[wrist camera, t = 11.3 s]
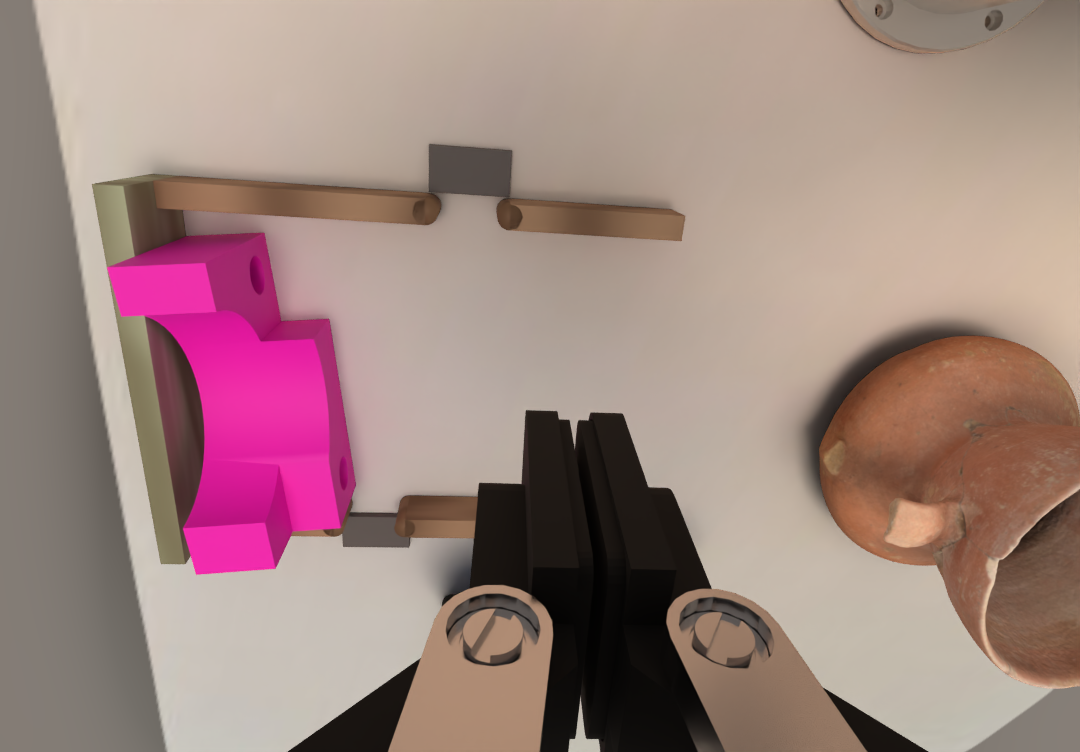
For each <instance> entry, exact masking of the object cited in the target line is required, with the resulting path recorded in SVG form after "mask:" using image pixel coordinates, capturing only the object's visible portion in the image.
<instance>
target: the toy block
mask: <svg viewBox="0 0 1080 752" xmlns="http://www.w3.org/2000/svg"><path fill="white" fill-rule="evenodd" d="M107 269H108V272H109V276H110V279H111V283H112V286H113V290H114V293H115V297H116V300H117V303H118V307H119V310H120V314H121V317H126V316H146V317H148V318H151V319H153V320H155V321H157V322H158V323H160V324H161V325H162V326H164V327H165V328H166V329H167V330H168V331H169V332H170V333H171V334H172V335H173V336H174V337H175V339H176V340H177V341H178V343H179V344H180V346H181V347H182V349H183V351H184V353H185V354H186V356H187V358H188V360H189V363H190V365H191V367H192V370H193V372H194V375H195V378H196V382H197V385H198V389H199V393H200V398H201V403H202V410H203V418H204V435H205V442H204V460H203V469H202V475H201V481H200V485H199V489H198V493H197V496H196V500H195V503H194V505H193V508H192V511H191V513H190V515H189V518H188V520H187V522H186V523H185V525H184V527H183V531H184V534H185V538H186V541H187V544H188V548H189V551H190V555H191V558H192V562H193V565H194V569H195V572H196V575H197V574H211V573H224V572H237V571H251V570H264V569H276V567H277V565H278V562H279V560H280V558H281V556H282V554H283V552H284V549H285V547H286V545H287V543H288V541H289V539H290V537H291V534H292V532H294V531H308V530H322V529H336V528H341V526H342V523H343V520H344V517H345V514H346V512H347V509H348V506H349V503H350V500H351V497H352V495H353V492H354V489H355V486H356V482H355V476H354V470H353V464H352V458H351V452H350V445H349V439H348V433H347V427H346V421H345V414H344V408H343V402H342V396H341V390H340V383H339V377H338V371H337V365H336V359H335V352H334V346H333V340H332V334H331V328H330V322H329V319H317V320H297V321H281V317H280V312H279V307H278V302H277V296H276V291H275V286H274V281H273V275H272V270H271V265H270V260H269V255H268V249H267V244H266V239H265V234H264V233H245V234H221V235H197V236H186V237H183V238H181V239H178V240H176V241H173V242H171V243H168V244H166V245H163V246H160V247H158V248H155V249H153V250H150V251H148V252H145V253H143V254H140V255H137V256H135V257H132V258H130V259H127V260H125V261H122V262H120V263H117V264H114V265H112V266H109V267H107Z"/></svg>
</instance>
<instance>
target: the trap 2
mask: <svg viewBox="0 0 1080 752" xmlns="http://www.w3.org/2000/svg"><path fill="white" fill-rule="evenodd" d="M511 157H512V151H511V150H497V149H484V148H471V147H458V146H444V145H431V144H430V145H429V192H439V193H454V194H469V195H483V196H498V197H509V194H510V175H511Z"/></svg>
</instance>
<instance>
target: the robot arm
mask: <svg viewBox="0 0 1080 752" xmlns="http://www.w3.org/2000/svg"><path fill="white" fill-rule="evenodd" d="M841 1H842V4H843V5H844V6H845V8H846V9H847V10H848V12H849V13H850V14H851V16H852V17H853V18H854V20H855V21H856V22H857V24H859V25H860V26H861V27H862V28H863V29H865V30H866V31H867V32H868V33H869V34H871V35H872V36H873V37H874V38H875V39H877V40H879V41H882V42H884V43H886V44H888V45H890V46H892V47H894V48H896V49H901V50H905V51H910V52H914V53H943V52H949V51H954V50H961V49H966V48H969V47H972V46H975V45H978V44H981V43H984V42H987V41H989V40H991V39H993V38H995V37H997V36H998V35H1000V34H1002V33H1004V32H1006V31H1008V30H1009V29H1011V28H1013V27H1014V26H1016V25H1017V24H1018V23H1019V22H1021V21H1022V20H1023V19H1024V18H1026V17H1027V16H1028V15H1030V14H1031V13H1032V12H1033V11H1035V10H1036V9H1037V8H1038V7H1039V6H1040V5H1041V4H1042V3H1043V2H1044V1H1045V0H841ZM875 7H876V8H877V15H876V14H875ZM580 695H581V703H582V712H583V721H584V730H585V735H586V738H587V739H599V744H600V752H928V751H926V750H925V749H923V748H921V747H920V746H918V745H916V744H915V743H913V742H911V741H910V740H908V739H907V738H905V737H903V736H902V735H900V734H898V733H897V732H895V731H893V730H892V729H890V728H889V727H887V726H885V725H884V724H882V723H880V722H879V721H877V720H875V719H874V718H872V717H870V716H869V715H867V714H866V713H864V712H862V711H861V710H859V709H857V708H856V707H854V706H852V705H851V704H849V703H848V702H846V701H844V700H843V699H841V698H839V697H838V696H836V695H834V694H833V693H831V692H829V691H828V690H826V689H825V688H823V687H822V686H821V684H820V683H819V682H818V680H817V679H816V677H815V676H814V674H813V673H812V671H811V670H810V669H809V667H808V666H807V664H806V663H805V661H804V660H803V658H802V657H801V656H800V654H799V653H798V651H797V650H796V648H795V647H794V645H793V644H792V643H791V641H790V640H789V638H788V637H787V635H786V634H785V632H784V631H783V629H782V628H781V627H780V625H779V624H778V623H777V622H776V621H775V619H774V618H773V617H772V616H771V615H770V614H769V613H768V612H767V611H766V610H764V609H763V608H762V607H760V606H759V605H757V604H756V603H755V602H753V601H751V600H749V599H747V598H745V597H743V596H740V595H738V594H736V593H732V592H728V591H724V590H719V589H712V588H711V586H710V583H709V581H708V578H707V576H706V573H705V571H704V568H703V566H702V563H701V561H700V558H699V556H698V553H697V551H696V548H695V546H694V543H693V541H692V538H691V536H690V533H689V531H688V528H687V526H686V523H685V521H684V518H683V516H682V513H681V511H680V508H679V506H678V503H677V501H676V498H675V496H674V494H673V492H672V490H671V489H669V488H649V487H648V485H647V482H646V479H645V476H644V473H643V470H642V468H641V465H640V462H639V459H638V456H637V453H636V450H635V447H634V444H633V441H632V438H631V435H630V433H629V430H628V427H627V424H626V421H625V418H624V415H623V414H619V413H590V416H589V421H587V420H579V421H578V424H577V433H576V444H575V449H574V443H573V437H572V431H571V426H570V421H569V420H559V418H558V412H557V411H531V410H526V416H525V432H524V450H523V469H522V484H502V483H479V489H478V500H477V511H476V523H475V534H474V545H473V556H472V568H471V579H470V589H467V590H465V591H463V592H461V593H459V594H457V595H455V596H453V597H452V598H451V599H450V600H449V601H448V602H446V603H445V604H444V605H443V606H442V607H441V609H440V611H439V613H438V614H437V616H436V618H435V619H434V622H433V625H432V628H431V631H430V634H429V637H428V639H427V642H426V645H425V648H424V651H423V654H422V656H421V658H420V659H419V660H417V661H416V662H415V663H413V664H412V665H410V666H409V667H407V668H406V669H405V670H403V671H402V672H400V673H399V674H397V675H396V676H395V677H393V678H392V679H390V680H389V681H388V682H386V683H385V684H383V685H382V686H380V687H379V688H378V689H376V690H375V691H373V692H372V693H370V694H369V695H368V696H366V697H365V698H363V699H362V700H360V701H359V702H358V703H356V704H355V705H353V706H352V707H351V708H349V709H348V710H346V711H345V712H343V713H342V714H341V715H339V716H338V717H336V718H335V719H333V720H332V721H331V722H329V723H328V724H326V725H325V726H323V727H322V728H321V729H319V730H318V731H316V732H315V733H314V734H312V735H311V736H309V737H308V738H306V739H305V740H304V741H302V742H301V743H299V744H298V745H296V746H295V747H294V748H292V749H291V750H289V751H288V752H568V749H569V740H570V739H575V736H576V729H577V721H578V712H579V704H580Z"/></svg>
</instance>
